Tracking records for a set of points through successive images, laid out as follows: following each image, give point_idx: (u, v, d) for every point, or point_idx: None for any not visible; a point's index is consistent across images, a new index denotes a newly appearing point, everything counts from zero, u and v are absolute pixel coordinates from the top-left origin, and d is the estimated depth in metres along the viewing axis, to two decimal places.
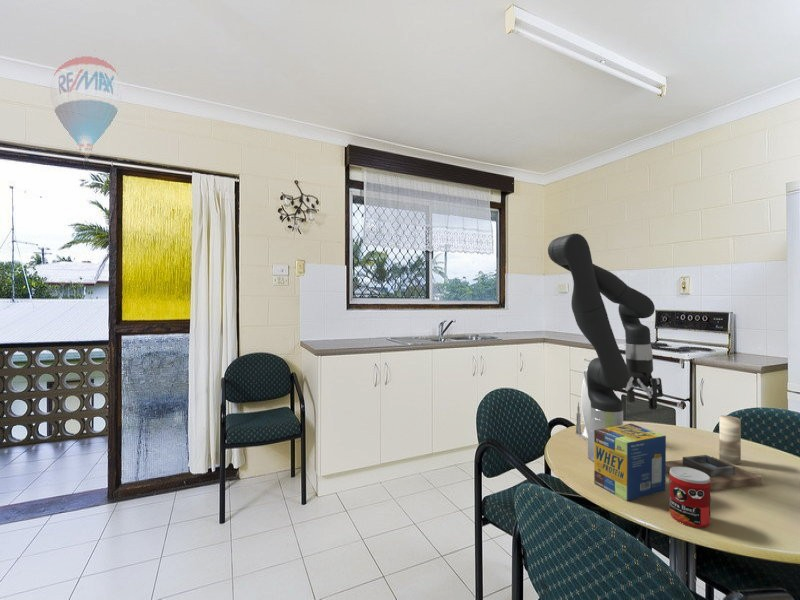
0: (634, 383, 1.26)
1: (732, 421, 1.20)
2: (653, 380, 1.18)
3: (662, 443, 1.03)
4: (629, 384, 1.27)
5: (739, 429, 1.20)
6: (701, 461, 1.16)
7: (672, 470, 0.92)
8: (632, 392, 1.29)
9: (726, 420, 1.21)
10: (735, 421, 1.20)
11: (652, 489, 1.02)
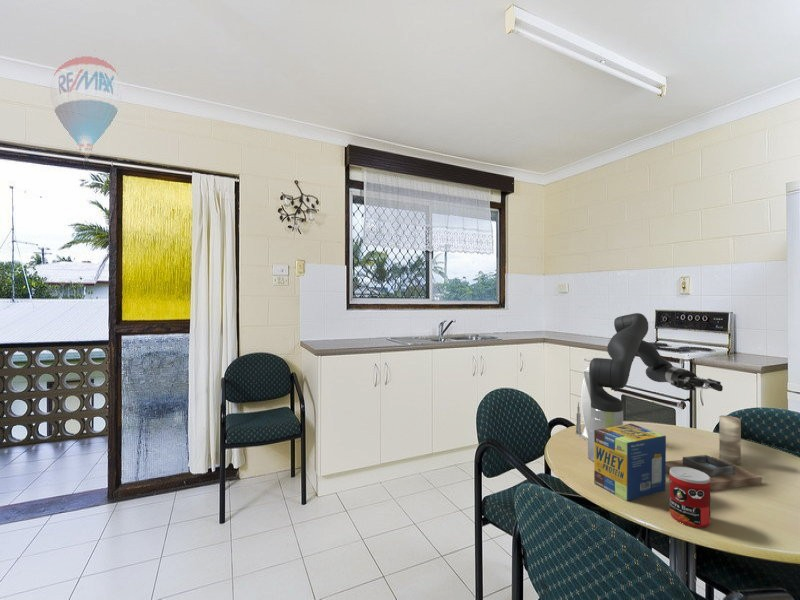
0: (691, 380, 1.40)
1: (732, 421, 1.20)
2: (709, 379, 1.42)
3: (662, 443, 1.03)
4: (687, 379, 1.40)
5: (739, 429, 1.20)
6: (701, 461, 1.16)
7: (672, 470, 0.92)
8: None
9: (726, 420, 1.21)
10: (735, 421, 1.20)
11: (652, 489, 1.02)
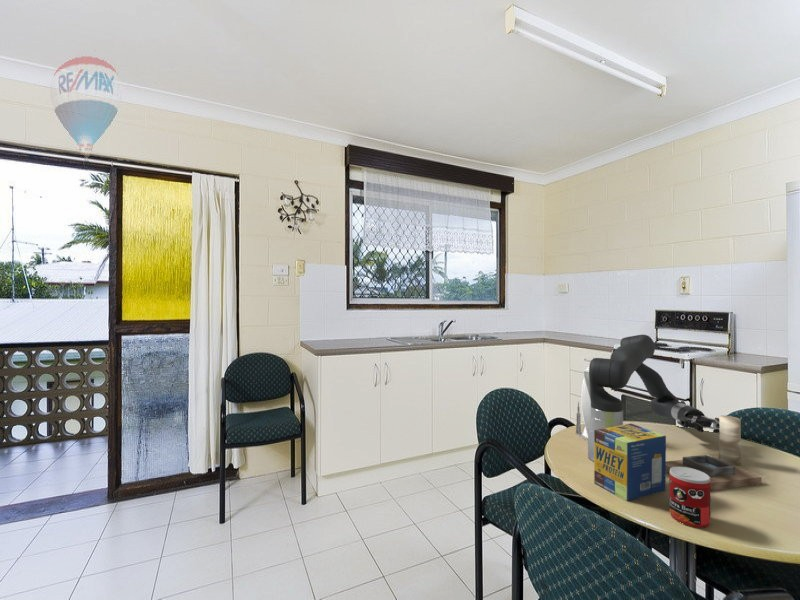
0: (698, 419, 1.36)
1: (732, 421, 1.20)
2: (717, 418, 1.37)
3: (662, 443, 1.03)
4: (694, 418, 1.35)
5: (739, 429, 1.20)
6: (701, 461, 1.16)
7: (672, 470, 0.92)
8: None
9: (726, 420, 1.21)
10: (735, 421, 1.20)
11: (652, 489, 1.02)
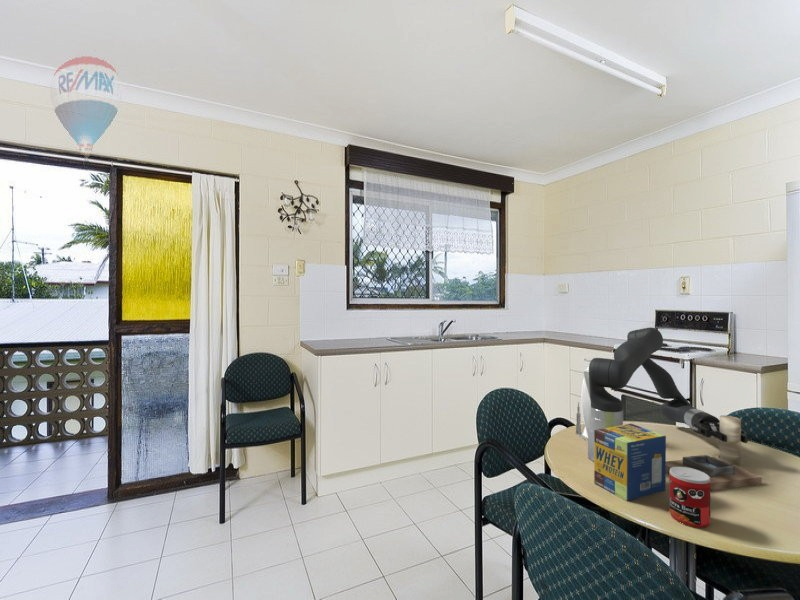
0: (716, 427, 1.28)
1: (732, 421, 1.20)
2: None
3: (662, 443, 1.03)
4: (713, 426, 1.27)
5: (739, 429, 1.20)
6: (701, 461, 1.16)
7: (672, 470, 0.92)
8: None
9: (726, 420, 1.21)
10: (735, 421, 1.20)
11: (652, 489, 1.02)
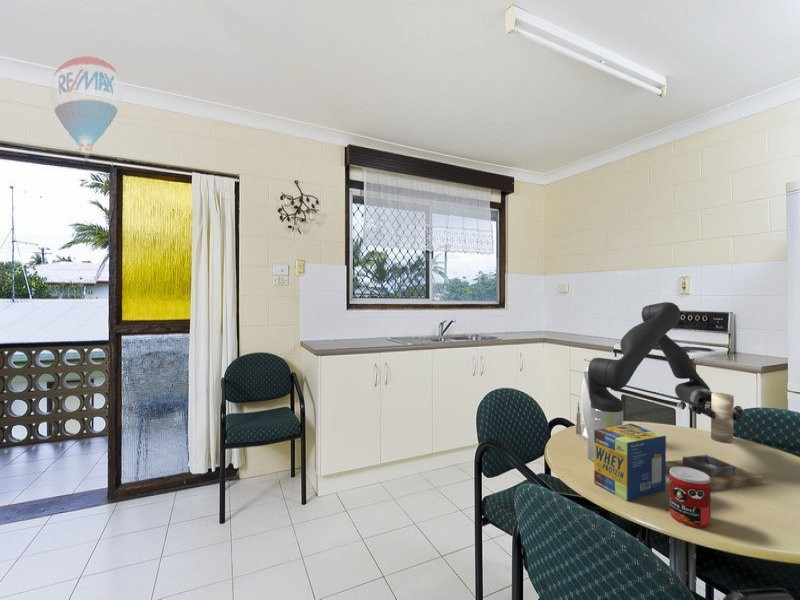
0: None
1: (722, 397, 1.14)
2: (739, 406, 1.20)
3: (662, 443, 1.03)
4: (708, 404, 1.21)
5: (730, 406, 1.13)
6: (701, 461, 1.16)
7: (672, 470, 0.92)
8: None
9: (716, 396, 1.15)
10: (725, 397, 1.13)
11: (652, 489, 1.02)
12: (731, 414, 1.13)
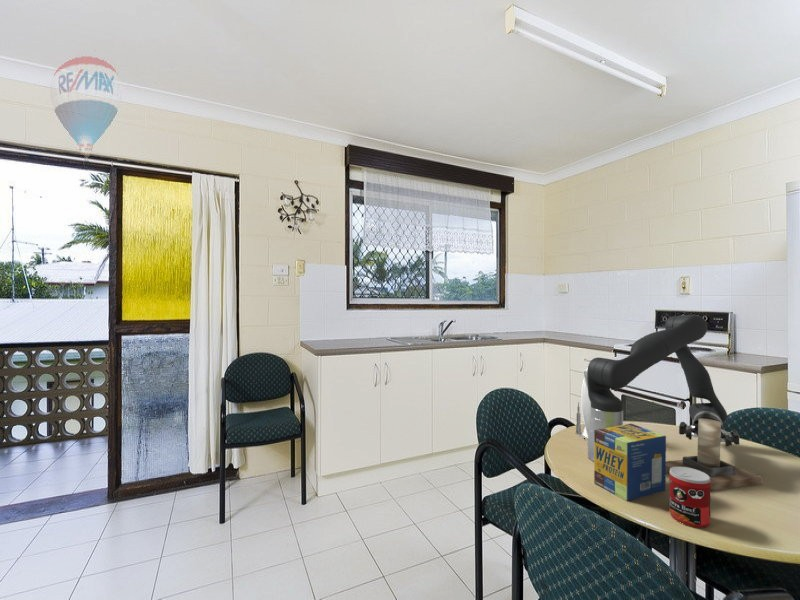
0: None
1: (706, 423, 1.11)
2: (735, 431, 1.14)
3: (662, 443, 1.03)
4: (696, 425, 1.17)
5: (715, 434, 1.09)
6: None
7: (672, 470, 0.92)
8: (691, 434, 1.16)
9: (700, 422, 1.12)
10: (709, 424, 1.10)
11: (652, 489, 1.02)
12: (716, 442, 1.09)
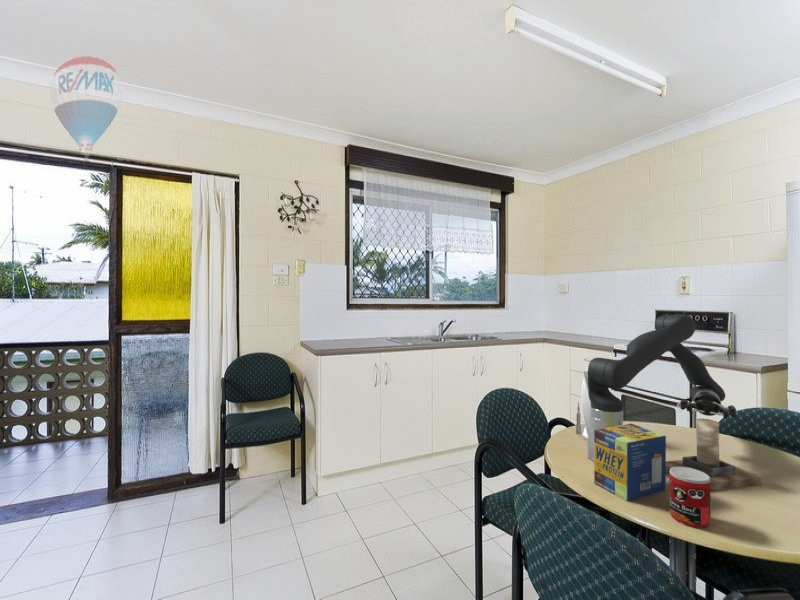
0: (702, 403, 1.27)
1: (703, 424, 1.11)
2: (732, 406, 1.24)
3: (662, 443, 1.03)
4: (696, 401, 1.27)
5: (713, 433, 1.10)
6: None
7: (672, 470, 0.92)
8: (692, 408, 1.26)
9: (698, 422, 1.12)
10: (707, 424, 1.10)
11: (652, 489, 1.02)
12: (714, 442, 1.10)
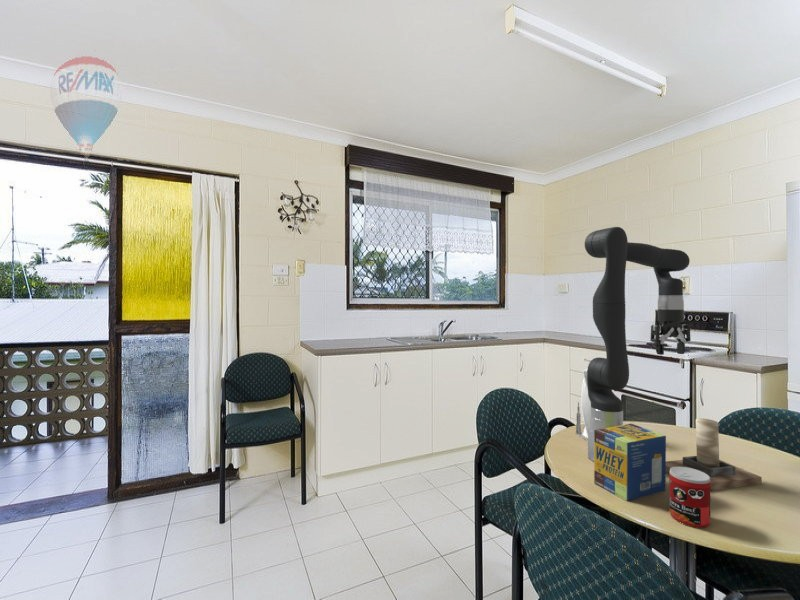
0: (670, 334, 1.32)
1: (703, 424, 1.11)
2: (688, 326, 1.33)
3: (662, 443, 1.03)
4: (667, 336, 1.31)
5: (713, 433, 1.10)
6: None
7: (672, 470, 0.92)
8: None
9: (698, 422, 1.12)
10: (707, 424, 1.10)
11: (652, 489, 1.02)
12: (714, 442, 1.10)
